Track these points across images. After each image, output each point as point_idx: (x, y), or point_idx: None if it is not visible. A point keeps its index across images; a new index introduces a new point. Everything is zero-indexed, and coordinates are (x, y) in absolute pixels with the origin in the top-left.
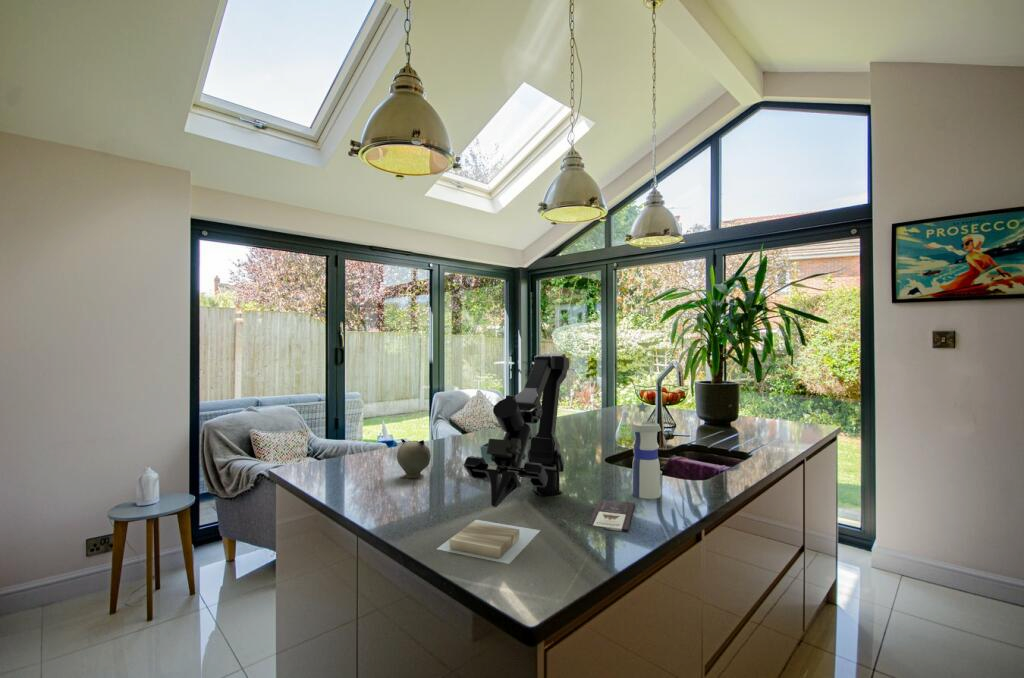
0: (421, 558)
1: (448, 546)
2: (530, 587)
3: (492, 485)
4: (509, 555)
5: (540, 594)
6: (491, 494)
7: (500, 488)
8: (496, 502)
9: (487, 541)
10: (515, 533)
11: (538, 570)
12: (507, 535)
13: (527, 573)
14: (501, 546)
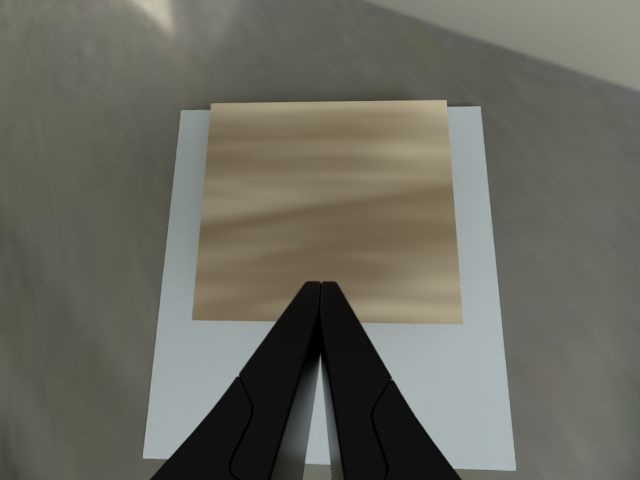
0: (487, 50)
1: (451, 141)
2: (88, 33)
3: (394, 418)
4: (200, 165)
5: (55, 14)
6: (364, 332)
7: (263, 393)
8: (296, 296)
9: (283, 141)
10: (196, 270)
11: (85, 126)
12: (222, 229)
13: (115, 97)
14: (209, 123)
